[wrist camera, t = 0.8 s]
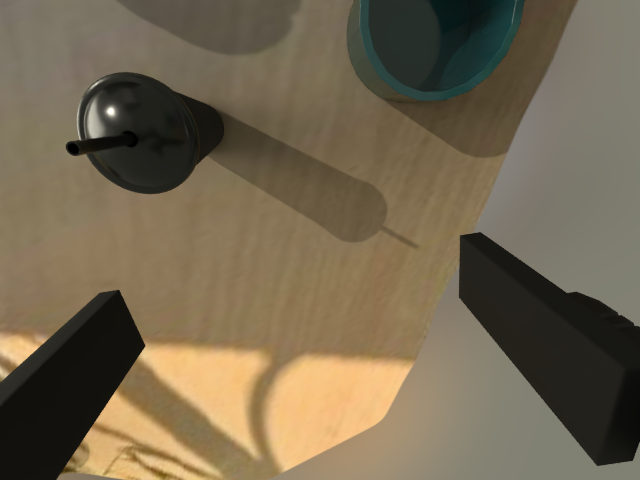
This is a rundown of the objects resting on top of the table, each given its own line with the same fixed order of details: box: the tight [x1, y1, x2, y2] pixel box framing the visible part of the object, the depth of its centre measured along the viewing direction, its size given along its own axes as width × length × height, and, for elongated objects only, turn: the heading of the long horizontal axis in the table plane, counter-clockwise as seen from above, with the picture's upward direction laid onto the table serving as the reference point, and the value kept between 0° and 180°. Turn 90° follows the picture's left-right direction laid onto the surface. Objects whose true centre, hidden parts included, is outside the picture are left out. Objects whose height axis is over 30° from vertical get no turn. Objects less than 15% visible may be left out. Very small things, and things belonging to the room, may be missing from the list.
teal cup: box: [347, 0, 525, 103], centre depth 27 cm, size 12×12×8 cm
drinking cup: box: [66, 72, 224, 194], centre depth 24 cm, size 8×8×20 cm
